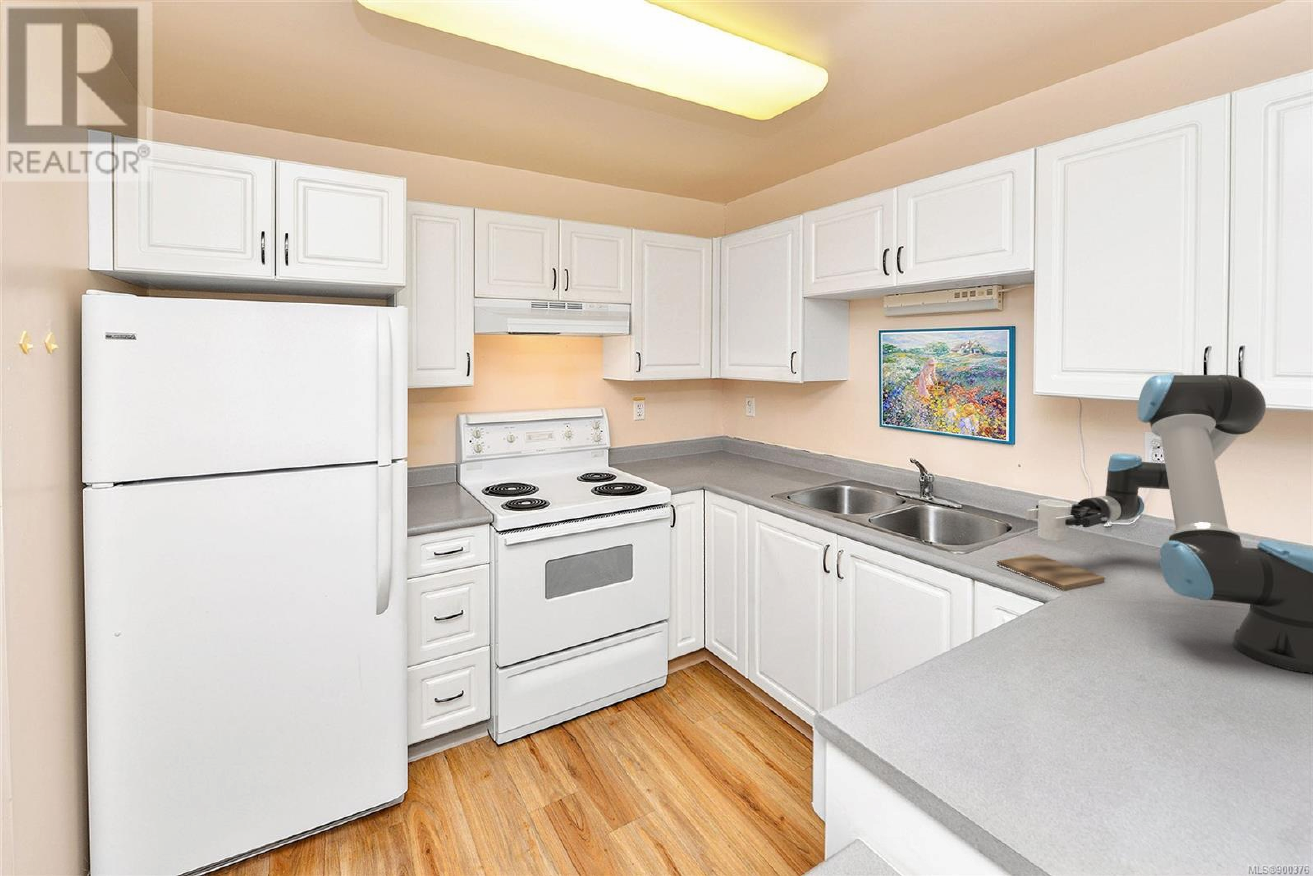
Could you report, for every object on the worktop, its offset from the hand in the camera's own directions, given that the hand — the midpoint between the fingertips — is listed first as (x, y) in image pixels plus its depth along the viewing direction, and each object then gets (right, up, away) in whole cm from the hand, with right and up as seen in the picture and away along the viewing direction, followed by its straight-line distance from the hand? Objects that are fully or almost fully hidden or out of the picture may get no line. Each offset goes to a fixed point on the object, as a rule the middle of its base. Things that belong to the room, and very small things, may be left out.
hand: (1041, 518), depth 167 cm
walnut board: (+5, -16, +4) cm, 17 cm away
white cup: (+5, -6, +3) cm, 8 cm away
